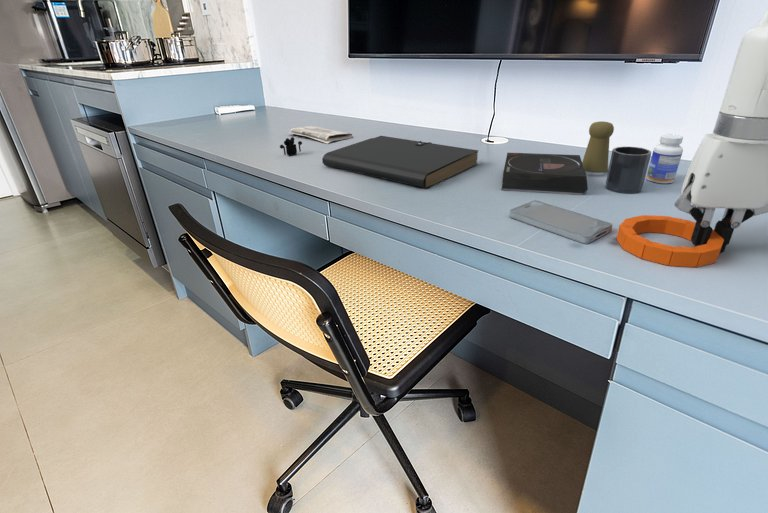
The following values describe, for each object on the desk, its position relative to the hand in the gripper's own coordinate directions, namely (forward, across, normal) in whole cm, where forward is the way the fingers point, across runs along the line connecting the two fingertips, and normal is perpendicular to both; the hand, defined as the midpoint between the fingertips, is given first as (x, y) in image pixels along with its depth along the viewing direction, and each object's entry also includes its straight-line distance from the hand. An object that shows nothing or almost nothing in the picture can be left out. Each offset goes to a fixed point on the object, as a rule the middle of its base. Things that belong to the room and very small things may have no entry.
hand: (707, 247), depth 68 cm
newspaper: (0, +90, -75) cm, 117 cm away
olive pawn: (0, +8, -42) cm, 43 cm away
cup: (0, +5, -28) cm, 28 cm away
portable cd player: (0, +21, -32) cm, 38 cm away
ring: (0, +6, 0) cm, 6 cm away
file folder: (0, +56, -41) cm, 69 cm away
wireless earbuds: (0, +90, -51) cm, 104 cm away
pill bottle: (0, -4, -34) cm, 34 cm away
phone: (0, +21, -7) cm, 22 cm away
